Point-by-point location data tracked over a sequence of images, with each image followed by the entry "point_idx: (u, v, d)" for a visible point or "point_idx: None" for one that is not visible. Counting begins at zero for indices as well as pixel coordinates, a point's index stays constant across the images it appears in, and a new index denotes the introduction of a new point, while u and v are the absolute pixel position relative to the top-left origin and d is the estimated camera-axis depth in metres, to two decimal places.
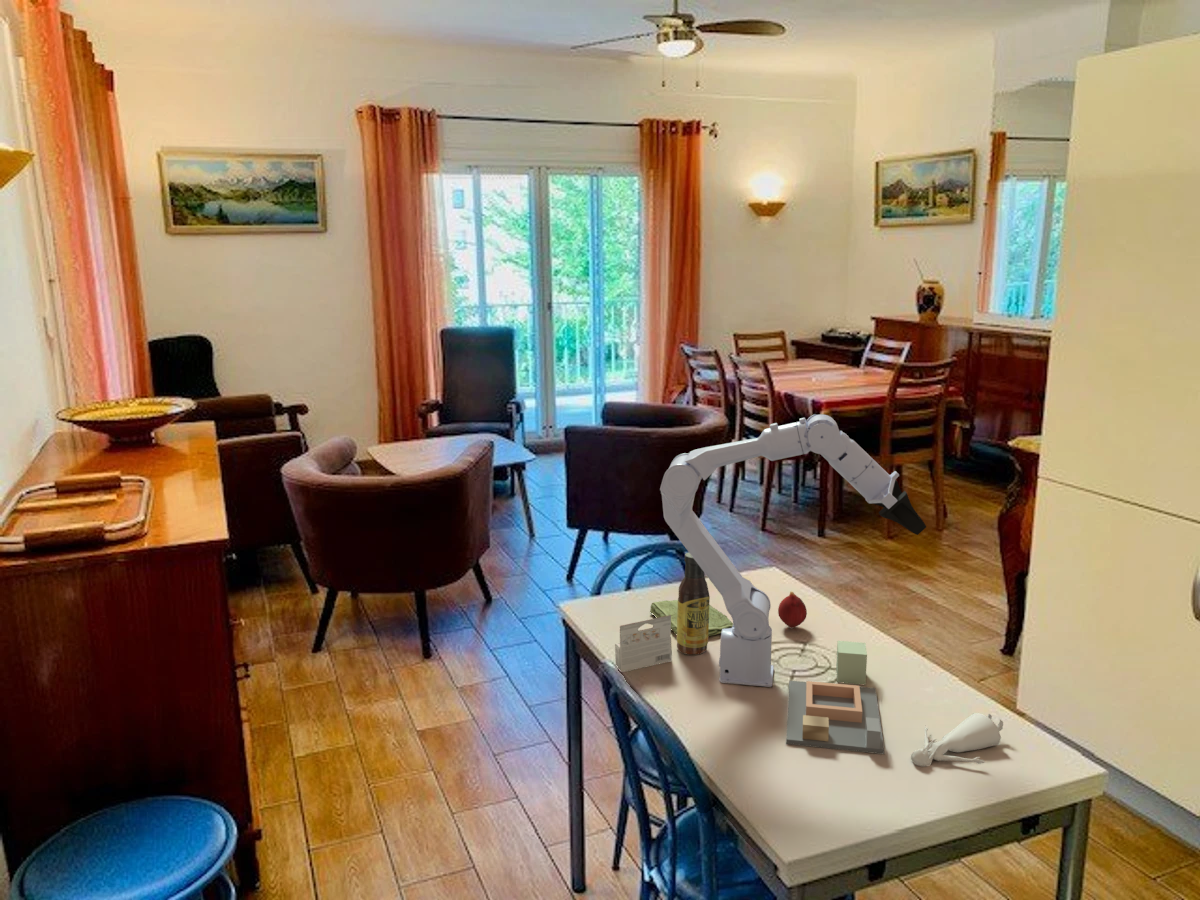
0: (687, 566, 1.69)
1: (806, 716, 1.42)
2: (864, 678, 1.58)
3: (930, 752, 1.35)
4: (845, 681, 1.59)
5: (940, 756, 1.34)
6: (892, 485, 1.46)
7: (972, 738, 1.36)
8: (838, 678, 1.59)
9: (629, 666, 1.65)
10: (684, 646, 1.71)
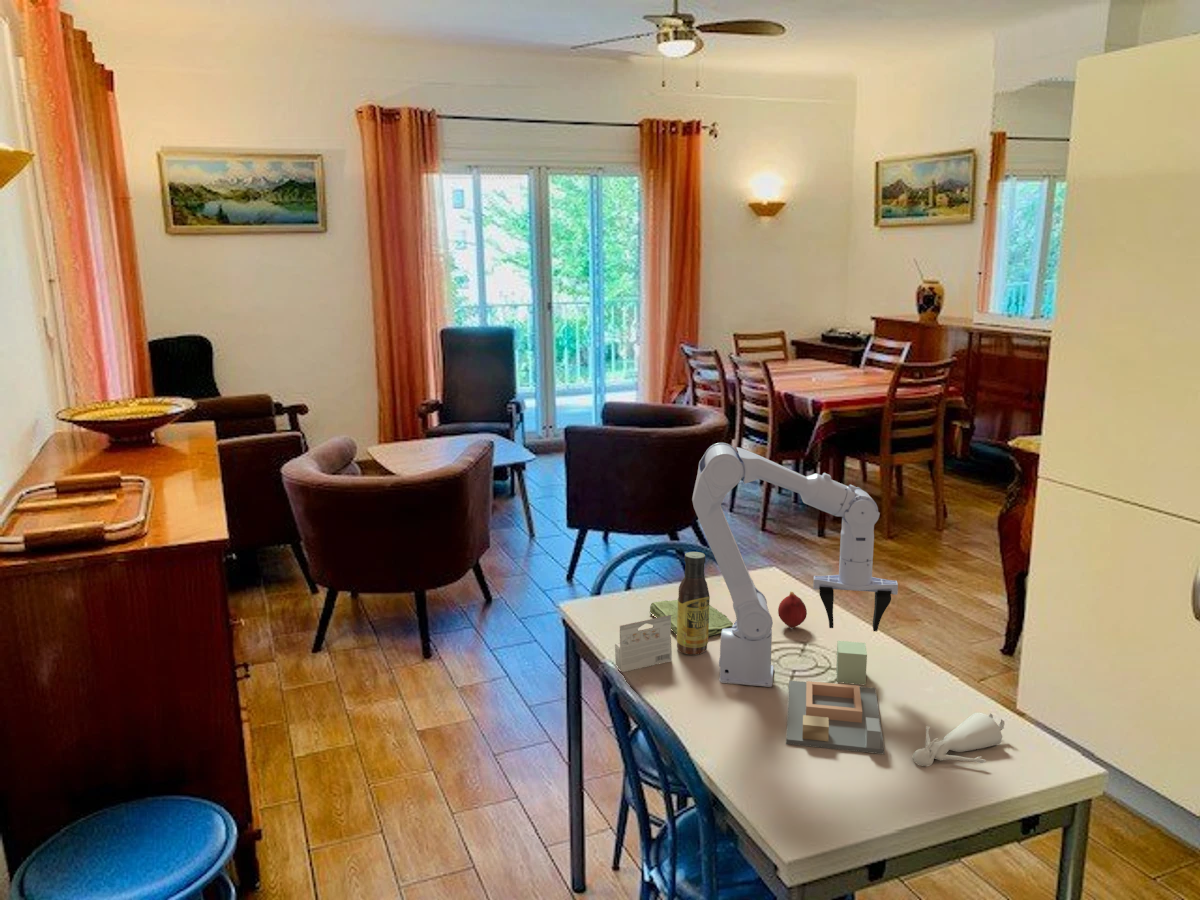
0: (687, 566, 1.69)
1: (806, 716, 1.42)
2: (864, 678, 1.58)
3: (932, 752, 1.35)
4: (845, 681, 1.59)
5: (942, 756, 1.34)
6: None
7: (973, 737, 1.36)
8: (838, 678, 1.59)
9: (629, 666, 1.65)
10: (684, 646, 1.71)
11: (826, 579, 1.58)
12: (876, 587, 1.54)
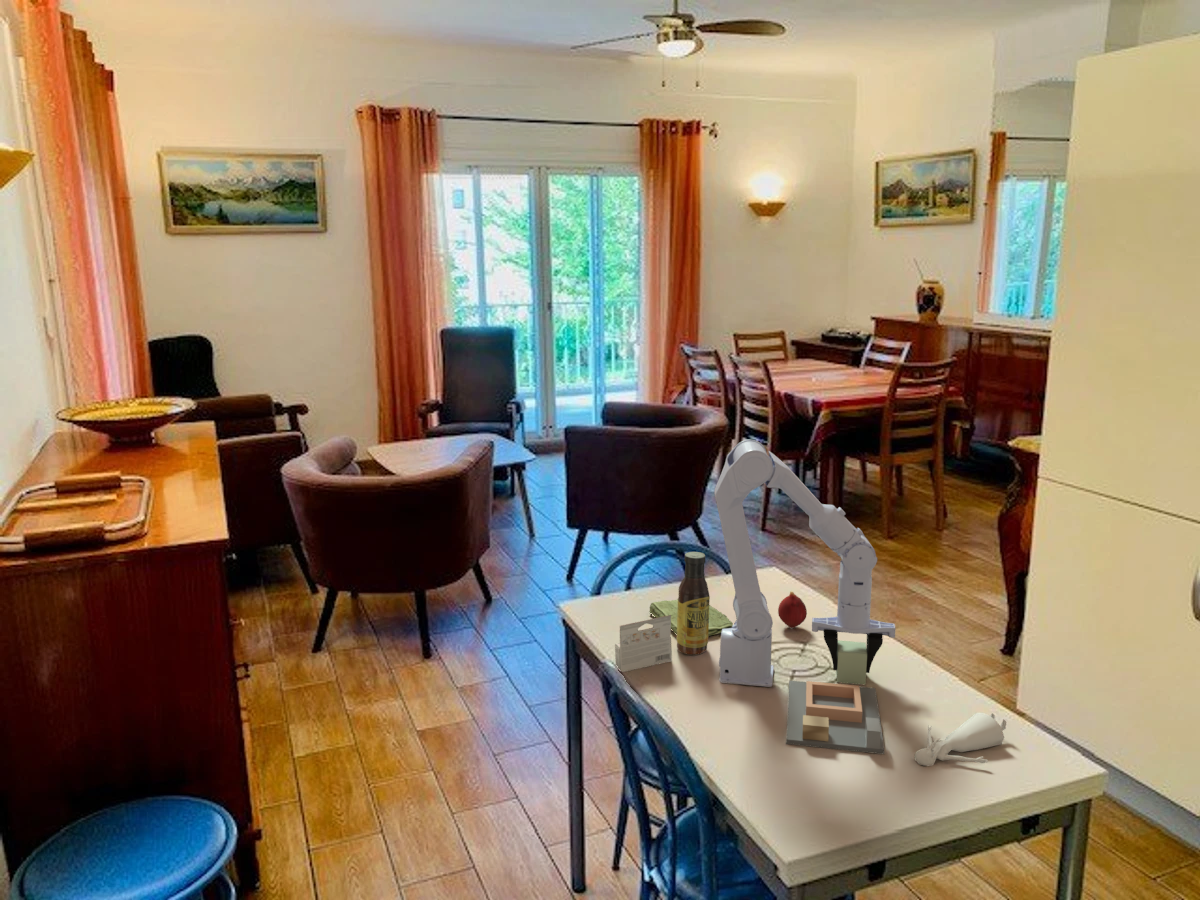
0: (687, 566, 1.69)
1: (806, 716, 1.42)
2: (864, 678, 1.58)
3: (934, 752, 1.35)
4: (845, 681, 1.59)
5: (944, 756, 1.34)
6: None
7: (975, 738, 1.36)
8: (838, 677, 1.59)
9: (629, 666, 1.65)
10: (684, 646, 1.71)
11: (824, 621, 1.60)
12: (874, 630, 1.56)
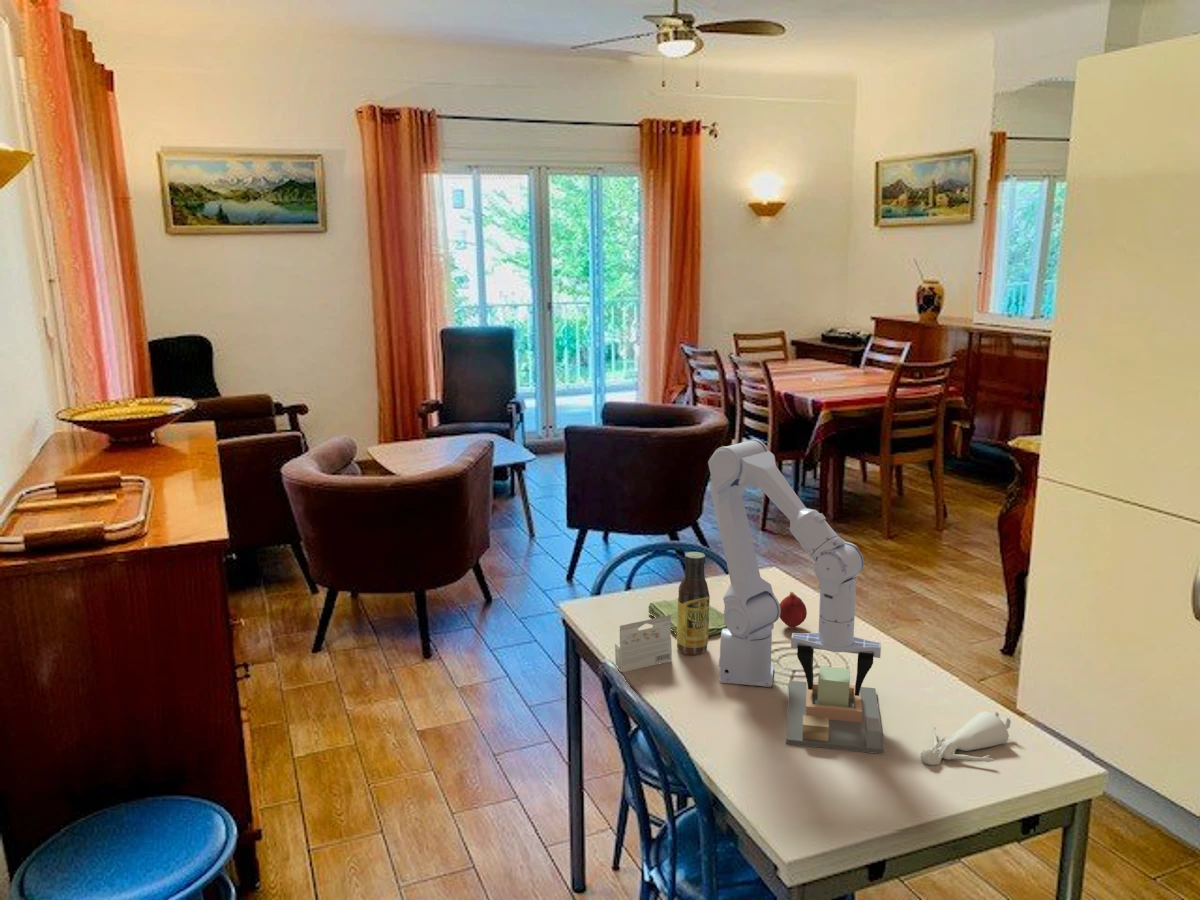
0: (687, 566, 1.69)
1: (806, 716, 1.42)
2: None
3: (939, 751, 1.35)
4: None
5: (949, 755, 1.34)
6: None
7: (980, 736, 1.37)
8: None
9: (629, 666, 1.65)
10: (684, 646, 1.71)
11: (805, 637, 1.48)
12: (857, 649, 1.44)
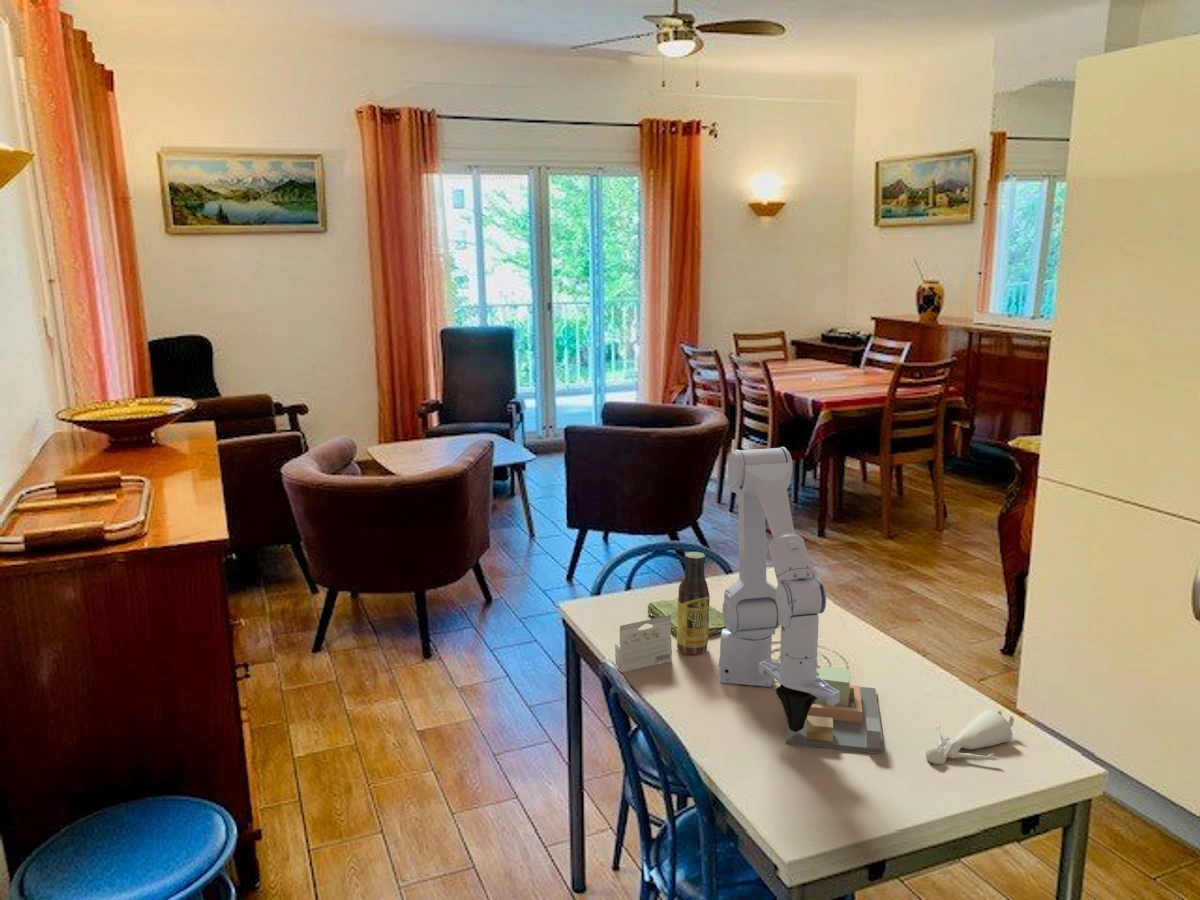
0: (687, 566, 1.69)
1: (810, 716, 1.41)
2: None
3: (944, 750, 1.35)
4: None
5: (954, 753, 1.34)
6: None
7: (985, 735, 1.37)
8: None
9: (629, 666, 1.65)
10: (684, 646, 1.71)
11: (772, 667, 1.43)
12: (808, 690, 1.35)
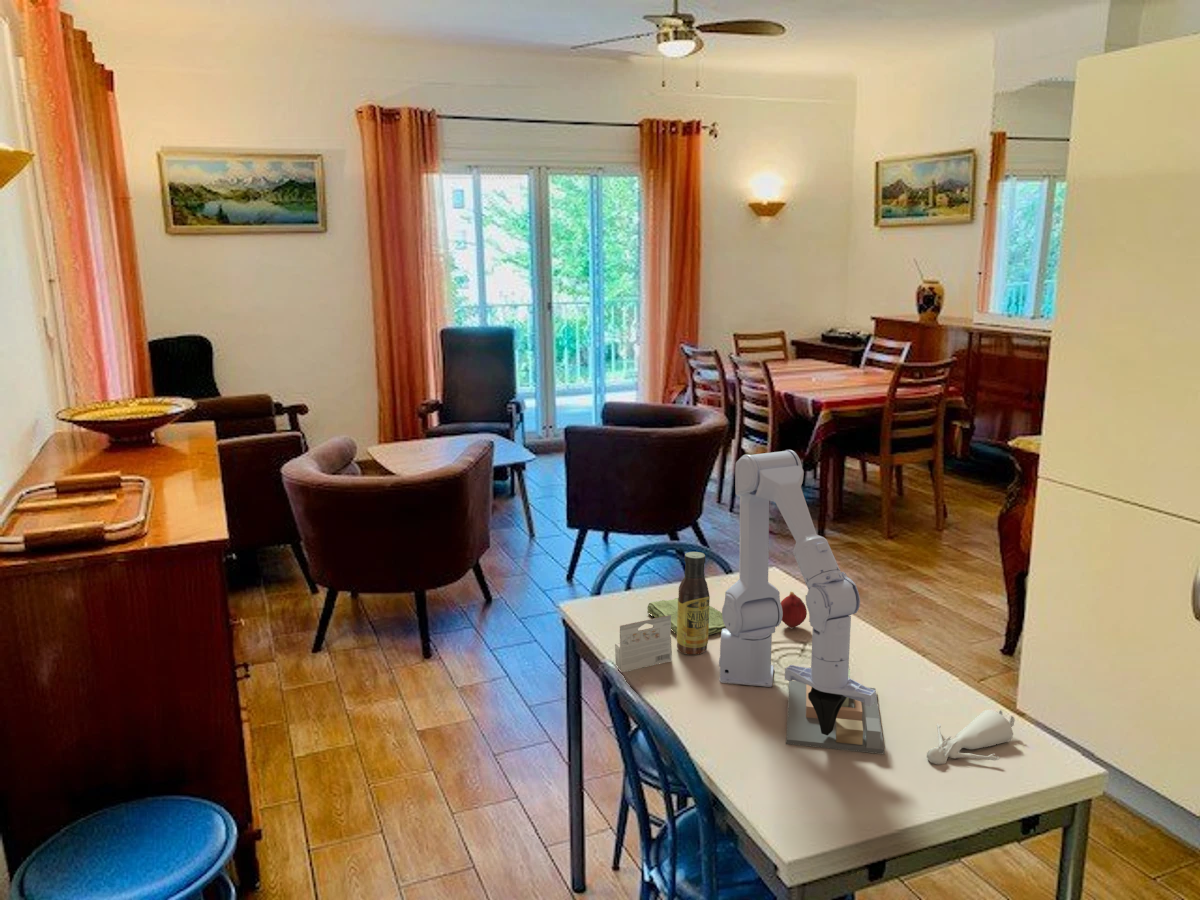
0: (687, 566, 1.69)
1: (839, 719, 1.40)
2: None
3: (945, 750, 1.35)
4: None
5: (955, 754, 1.34)
6: None
7: (986, 735, 1.37)
8: None
9: (629, 666, 1.65)
10: (684, 646, 1.71)
11: (799, 671, 1.41)
12: (845, 693, 1.34)
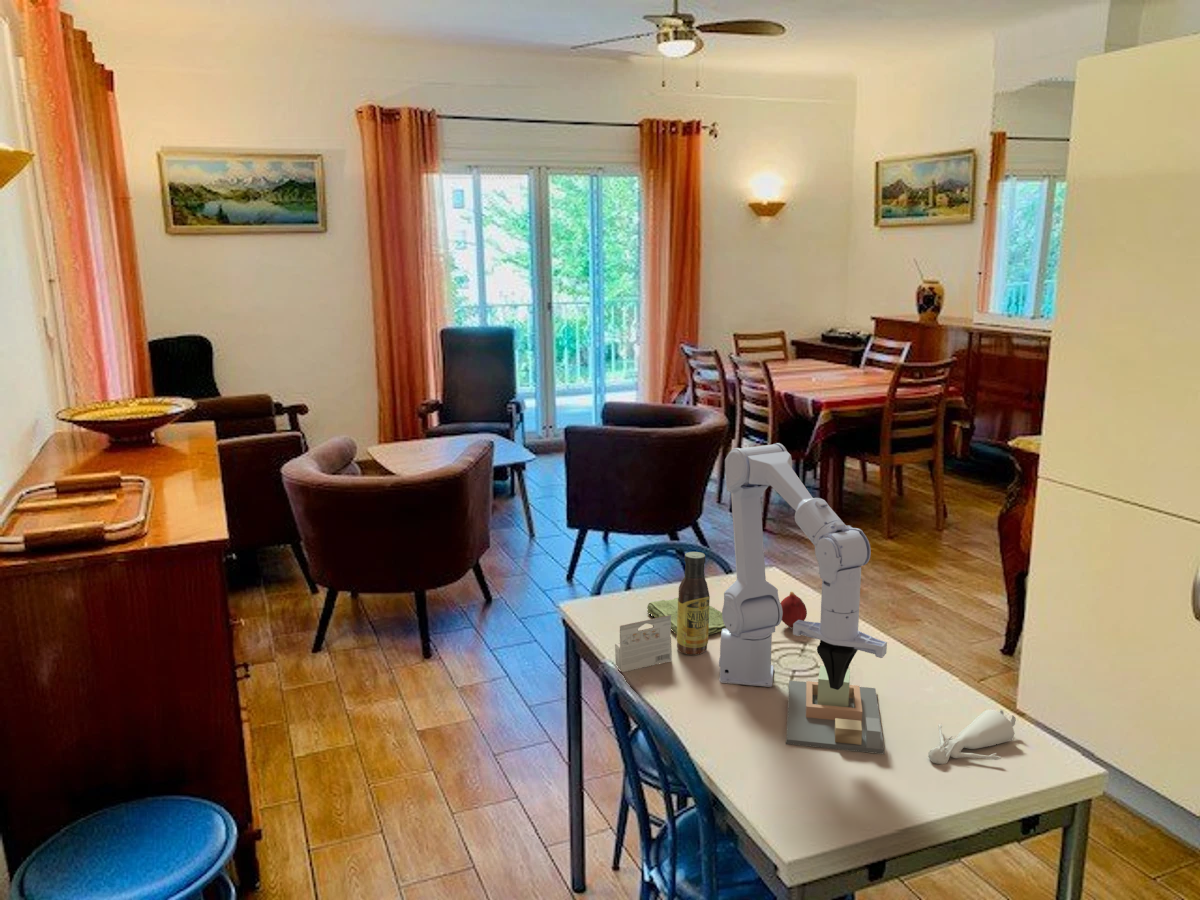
0: (687, 566, 1.69)
1: (838, 719, 1.40)
2: None
3: (947, 749, 1.35)
4: None
5: (957, 753, 1.34)
6: None
7: (987, 735, 1.37)
8: None
9: (629, 666, 1.65)
10: (684, 646, 1.71)
11: (808, 626, 1.39)
12: (856, 645, 1.33)
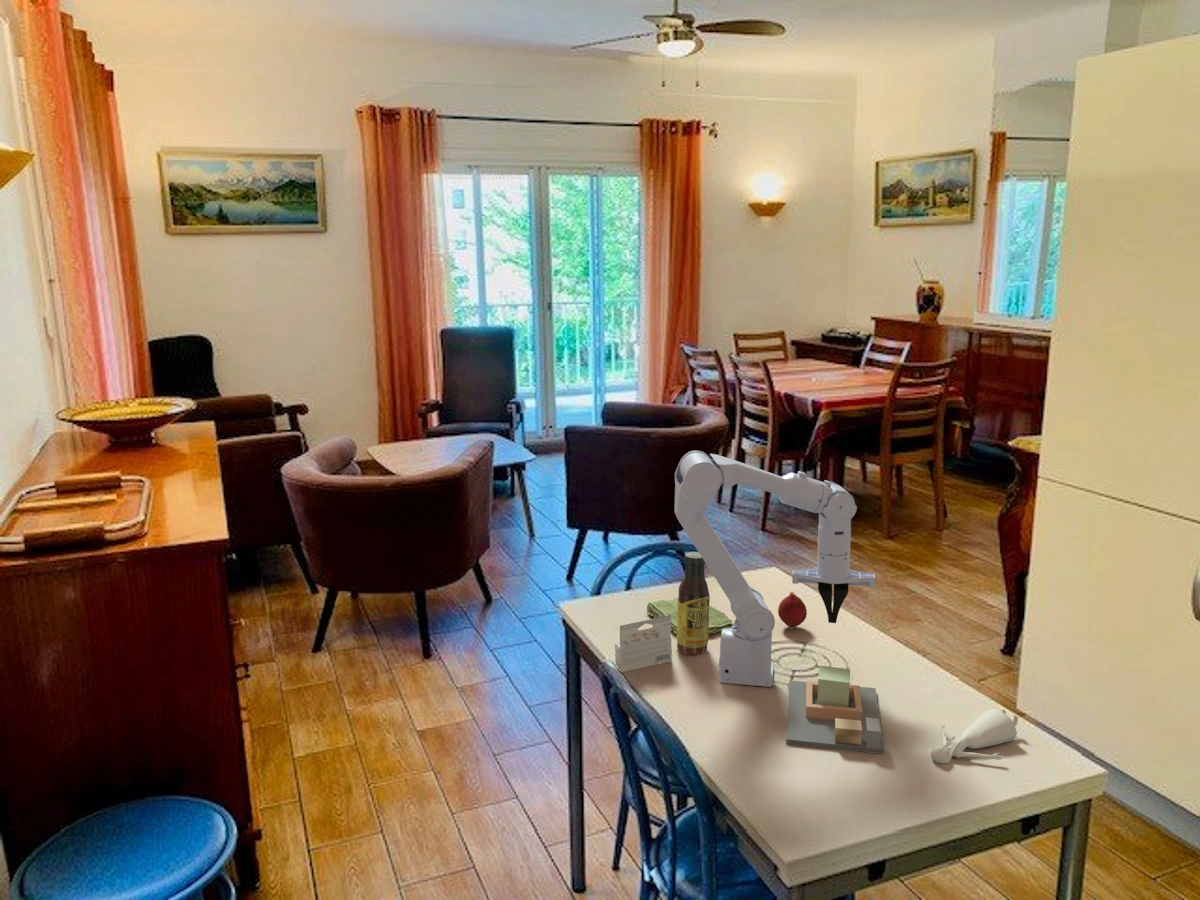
0: (687, 566, 1.69)
1: (838, 719, 1.40)
2: None
3: (950, 749, 1.35)
4: None
5: (960, 753, 1.34)
6: None
7: (989, 734, 1.37)
8: None
9: (629, 666, 1.65)
10: (684, 646, 1.71)
11: (805, 573, 1.60)
12: (854, 580, 1.56)
